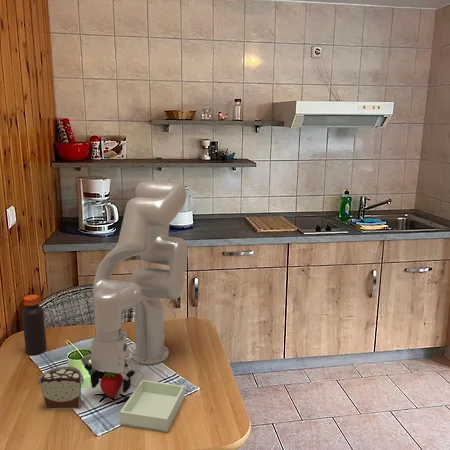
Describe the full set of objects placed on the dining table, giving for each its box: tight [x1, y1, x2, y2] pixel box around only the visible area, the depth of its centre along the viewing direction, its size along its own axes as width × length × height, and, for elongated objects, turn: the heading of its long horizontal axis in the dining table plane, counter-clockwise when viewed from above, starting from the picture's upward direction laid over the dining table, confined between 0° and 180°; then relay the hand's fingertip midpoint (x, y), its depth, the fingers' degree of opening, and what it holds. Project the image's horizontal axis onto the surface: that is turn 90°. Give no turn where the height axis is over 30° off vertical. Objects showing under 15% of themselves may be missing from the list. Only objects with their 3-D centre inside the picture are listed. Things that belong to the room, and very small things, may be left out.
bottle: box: [21, 294, 48, 356], centre depth 154 cm, size 7×7×20 cm
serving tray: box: [119, 379, 186, 433], centre depth 125 cm, size 15×13×4 cm
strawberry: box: [99, 372, 124, 399], centre depth 130 cm, size 6×8×10 cm
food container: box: [37, 365, 85, 410], centre depth 127 cm, size 12×6×10 cm, turn 92°
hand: (110, 387), depth 130 cm, fingers open, 9 cm apart
